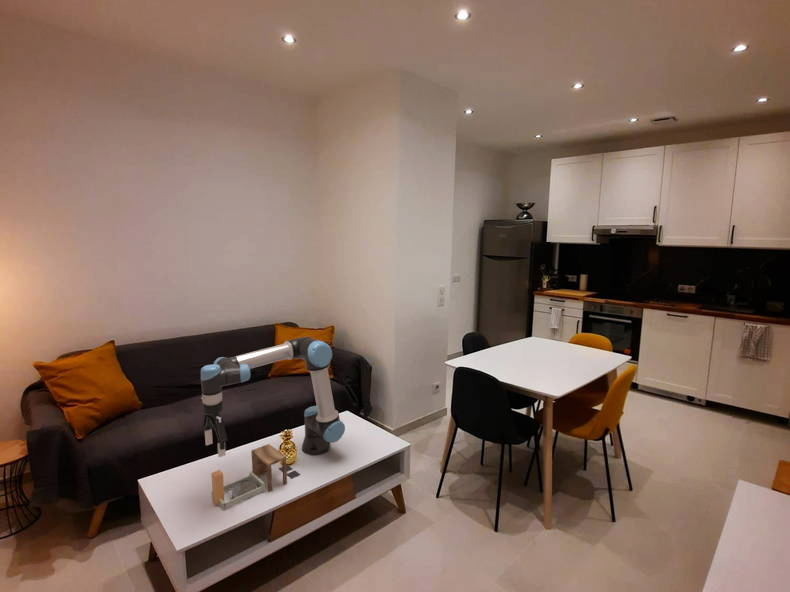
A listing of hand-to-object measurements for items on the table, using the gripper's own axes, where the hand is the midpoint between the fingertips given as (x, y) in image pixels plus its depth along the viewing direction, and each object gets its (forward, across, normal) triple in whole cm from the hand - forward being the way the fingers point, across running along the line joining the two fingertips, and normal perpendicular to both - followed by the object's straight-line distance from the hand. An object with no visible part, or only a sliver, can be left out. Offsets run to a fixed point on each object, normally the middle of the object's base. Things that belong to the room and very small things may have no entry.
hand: (215, 450), depth 175 cm
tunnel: (+25, 0, +24) cm, 34 cm away
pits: (+25, 0, +34) cm, 42 cm away
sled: (+24, 0, +8) cm, 26 cm away
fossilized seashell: (+25, +1, +11) cm, 27 cm away
